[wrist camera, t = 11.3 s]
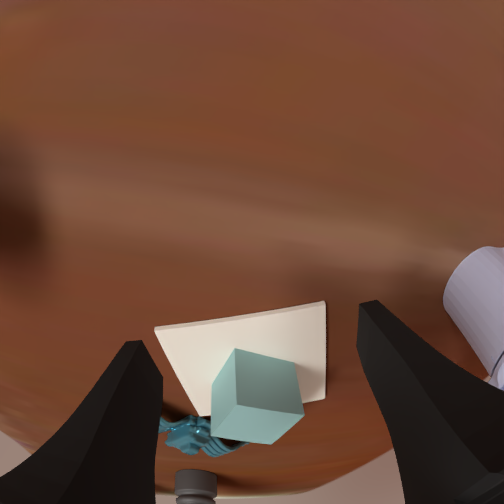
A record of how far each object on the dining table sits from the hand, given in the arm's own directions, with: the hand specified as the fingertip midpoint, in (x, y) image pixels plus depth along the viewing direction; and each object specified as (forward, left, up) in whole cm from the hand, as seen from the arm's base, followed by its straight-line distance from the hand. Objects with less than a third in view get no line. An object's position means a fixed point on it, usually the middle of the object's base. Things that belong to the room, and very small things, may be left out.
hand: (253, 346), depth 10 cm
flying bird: (+10, +22, -10) cm, 26 cm away
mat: (+1, +13, -9) cm, 16 cm away
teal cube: (+2, +13, -9) cm, 16 cm away
